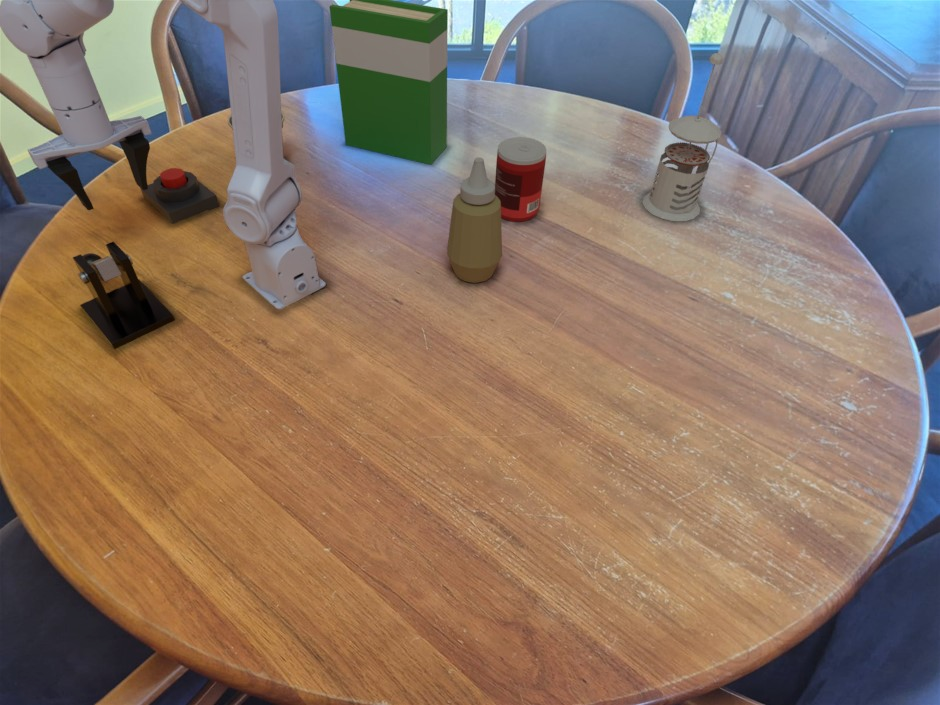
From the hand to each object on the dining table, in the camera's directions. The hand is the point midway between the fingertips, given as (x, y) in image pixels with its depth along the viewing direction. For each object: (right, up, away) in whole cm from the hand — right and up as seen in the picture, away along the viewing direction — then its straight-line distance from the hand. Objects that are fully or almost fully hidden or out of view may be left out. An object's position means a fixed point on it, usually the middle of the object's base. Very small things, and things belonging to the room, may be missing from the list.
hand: (116, 196), depth 87 cm
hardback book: (+36, +17, +31) cm, 50 cm away
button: (+2, +5, +12) cm, 14 cm away
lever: (+2, -12, -5) cm, 13 cm away
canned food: (+57, +2, +17) cm, 60 cm away
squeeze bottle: (+50, -10, +5) cm, 51 cm away
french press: (+85, +4, +20) cm, 87 cm away
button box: (+2, +3, +15) cm, 15 cm away
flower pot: (+13, +12, +25) cm, 30 cm away
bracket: (+4, -17, -4) cm, 18 cm away
